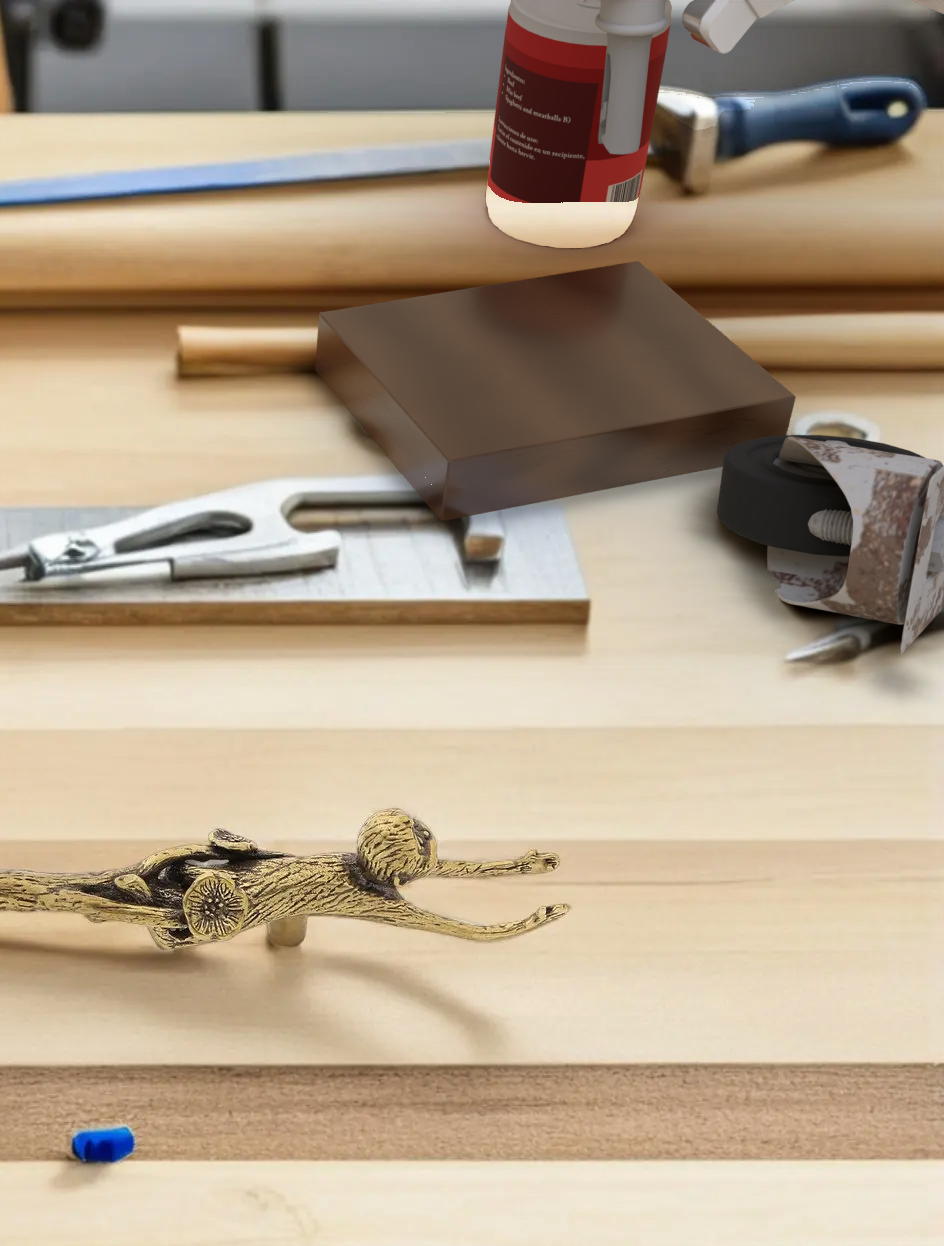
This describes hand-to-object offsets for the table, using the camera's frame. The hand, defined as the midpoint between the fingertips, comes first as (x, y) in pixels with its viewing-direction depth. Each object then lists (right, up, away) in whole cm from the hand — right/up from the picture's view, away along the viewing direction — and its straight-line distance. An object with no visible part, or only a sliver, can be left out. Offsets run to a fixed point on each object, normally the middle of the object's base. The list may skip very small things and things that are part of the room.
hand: (658, 17), depth 77 cm
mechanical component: (-1, -4, +3) cm, 5 cm away
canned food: (+2, 0, +29) cm, 29 cm away
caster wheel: (+8, -20, +6) cm, 22 cm away
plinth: (-2, -12, +14) cm, 19 cm away
